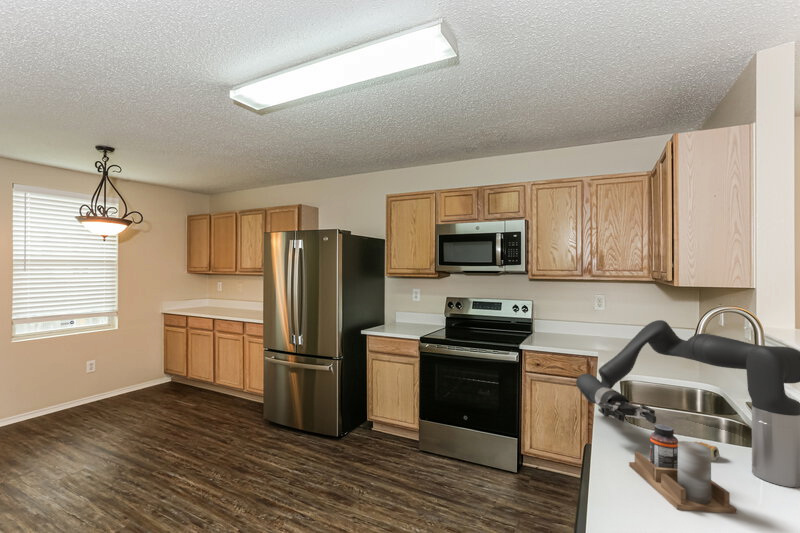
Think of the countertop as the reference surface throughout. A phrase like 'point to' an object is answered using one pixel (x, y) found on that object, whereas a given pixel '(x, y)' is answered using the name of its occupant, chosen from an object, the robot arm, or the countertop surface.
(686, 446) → the rail rack
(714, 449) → the pastry
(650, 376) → the countertop surface
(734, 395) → the countertop surface
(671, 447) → the supplement bottle
